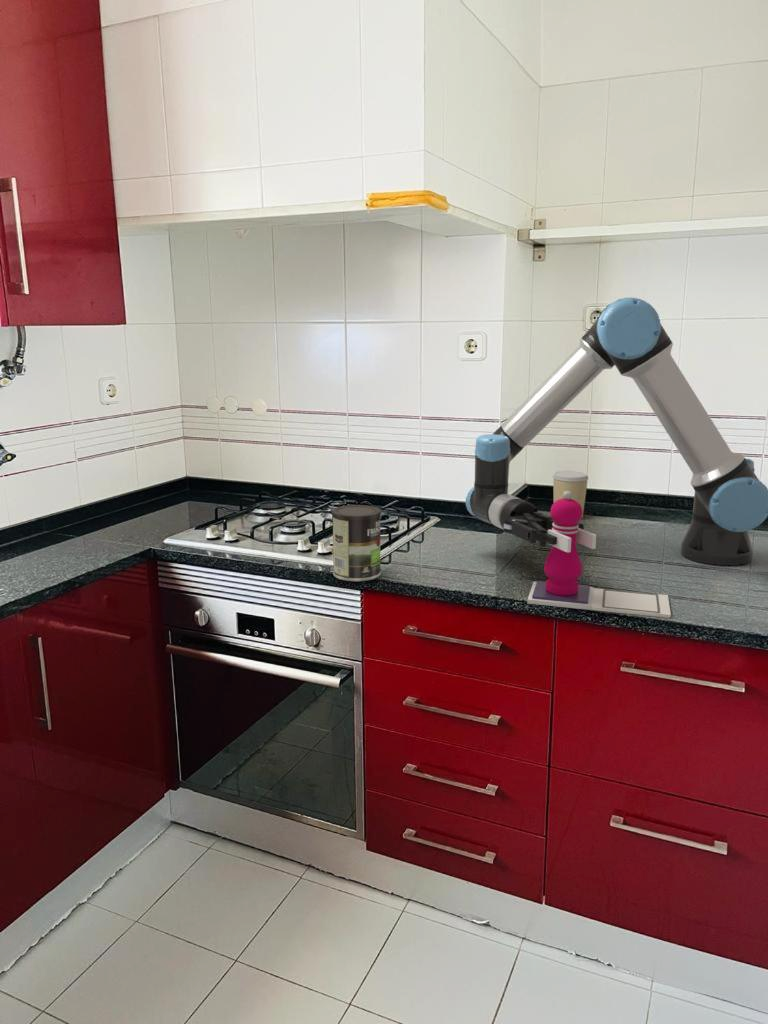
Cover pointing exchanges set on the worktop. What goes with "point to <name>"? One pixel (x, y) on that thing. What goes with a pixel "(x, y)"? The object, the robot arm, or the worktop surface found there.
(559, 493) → the coffee cup
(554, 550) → the pepper mill
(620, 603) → the board
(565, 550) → the robot arm
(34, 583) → the worktop surface
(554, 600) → the ink pad
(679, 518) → the worktop surface
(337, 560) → the coffee can
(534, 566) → the worktop surface
